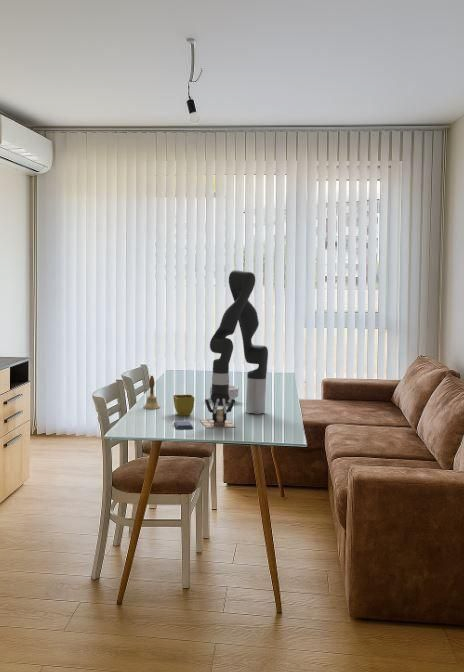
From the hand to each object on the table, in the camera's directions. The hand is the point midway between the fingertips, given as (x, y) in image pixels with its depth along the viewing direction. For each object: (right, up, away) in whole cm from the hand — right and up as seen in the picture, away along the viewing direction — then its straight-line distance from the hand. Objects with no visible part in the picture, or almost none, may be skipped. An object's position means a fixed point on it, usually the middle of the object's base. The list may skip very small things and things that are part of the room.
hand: (219, 421), depth 286 cm
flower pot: (-17, 0, +22) cm, 28 cm away
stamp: (0, -2, 0) cm, 2 cm away
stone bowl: (+1, +3, +60) cm, 60 cm away
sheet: (-1, -2, +4) cm, 5 cm away
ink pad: (-16, -2, -4) cm, 16 cm away
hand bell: (-34, +2, +37) cm, 51 cm away
